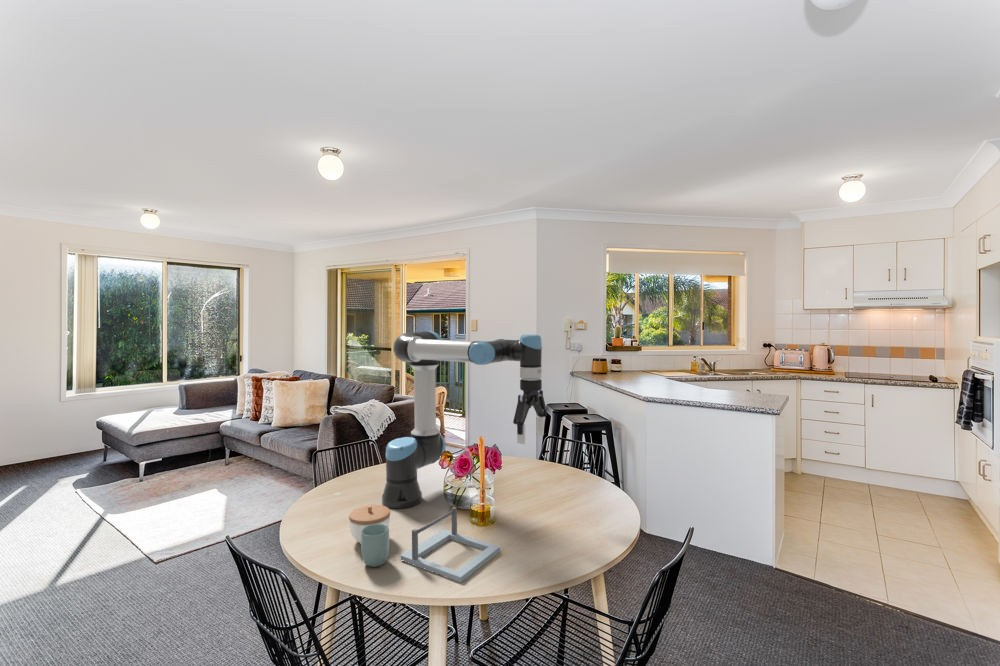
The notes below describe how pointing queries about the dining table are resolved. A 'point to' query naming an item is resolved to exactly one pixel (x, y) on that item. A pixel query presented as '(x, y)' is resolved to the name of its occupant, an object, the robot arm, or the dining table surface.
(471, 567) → the towel rail frame
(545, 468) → the dining table surface
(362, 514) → the lidded bowl
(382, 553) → the cup
